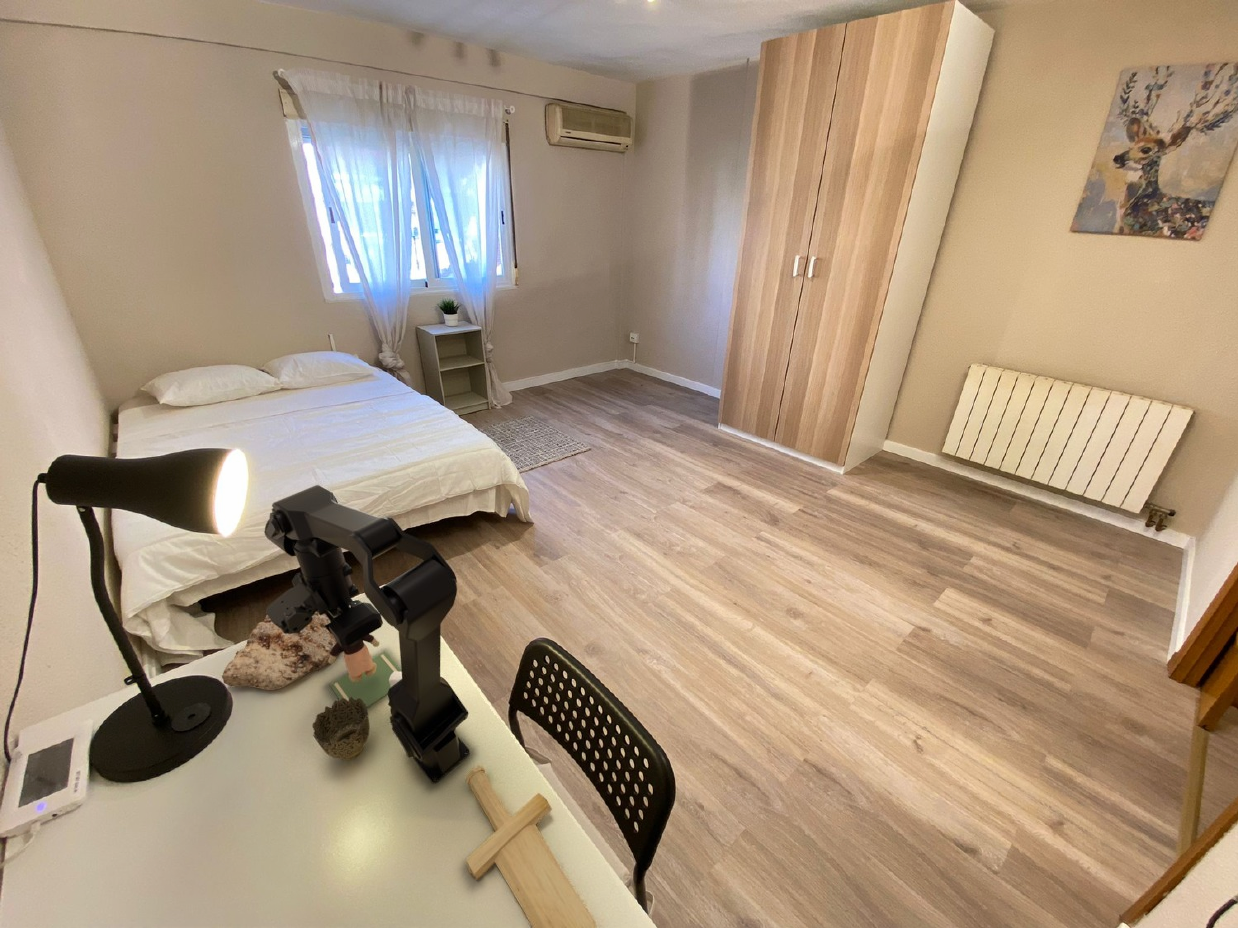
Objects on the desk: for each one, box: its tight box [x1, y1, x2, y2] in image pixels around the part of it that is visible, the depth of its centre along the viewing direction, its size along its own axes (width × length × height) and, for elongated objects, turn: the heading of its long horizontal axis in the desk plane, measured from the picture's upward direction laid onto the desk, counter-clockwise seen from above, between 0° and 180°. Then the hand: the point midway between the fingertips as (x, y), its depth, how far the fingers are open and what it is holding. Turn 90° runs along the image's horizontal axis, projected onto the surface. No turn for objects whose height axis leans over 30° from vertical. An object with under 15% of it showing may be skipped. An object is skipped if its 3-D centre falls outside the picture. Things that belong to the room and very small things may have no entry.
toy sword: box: [465, 764, 598, 928], centre depth 65 cm, size 12×3×30 cm
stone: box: [221, 612, 337, 691], centre depth 94 cm, size 22×8×15 cm
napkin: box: [329, 651, 402, 709], centre depth 90 cm, size 9×10×1 cm
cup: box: [312, 697, 370, 761], centre depth 77 cm, size 8×7×8 cm
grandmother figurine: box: [328, 633, 380, 683], centre depth 85 cm, size 8×4×13 cm, turn 137°
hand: (348, 638), depth 83 cm, fingers closed on grandmother figurine, 3 cm apart
